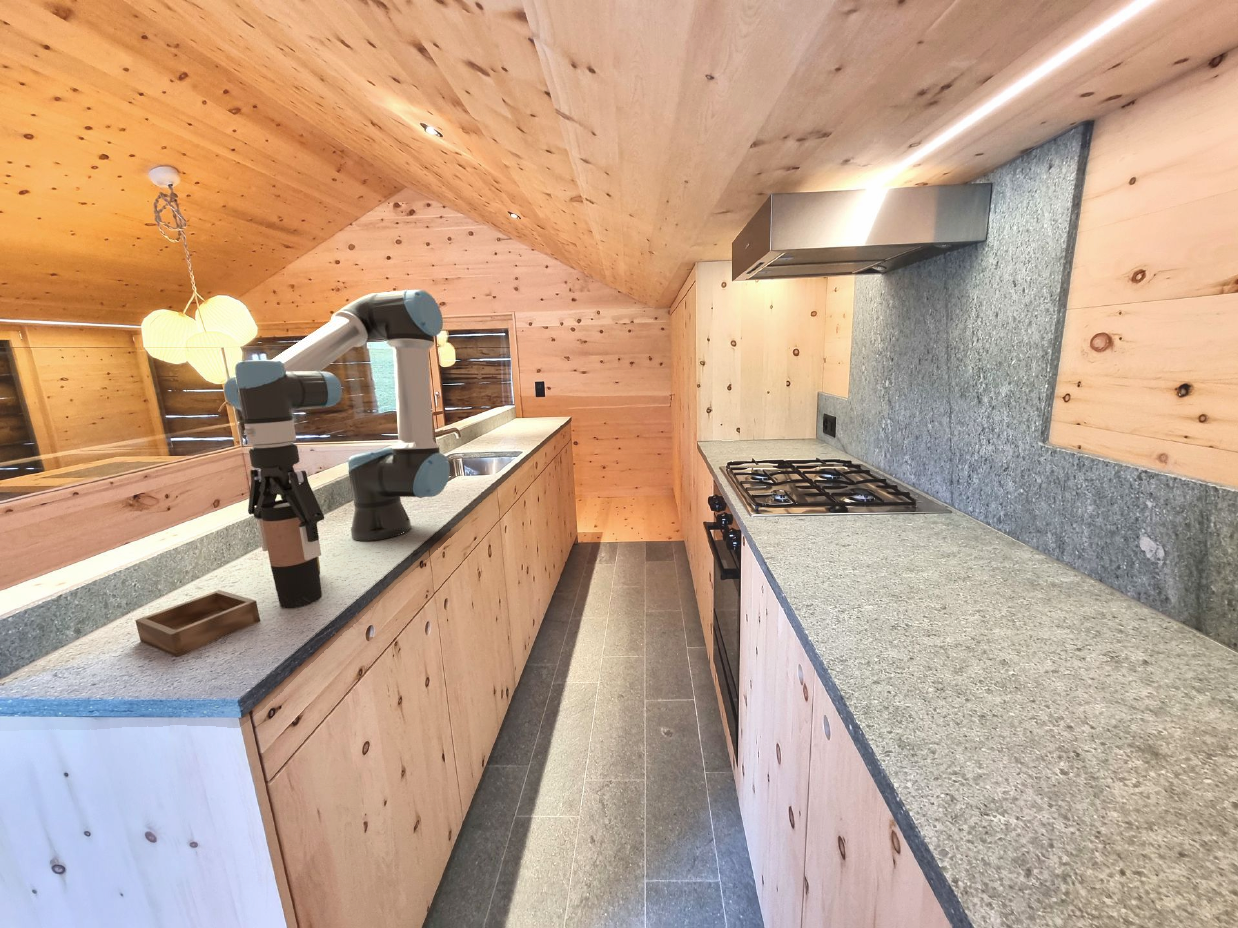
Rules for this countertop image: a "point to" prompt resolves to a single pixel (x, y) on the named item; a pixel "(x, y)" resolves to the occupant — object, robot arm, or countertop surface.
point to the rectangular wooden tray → (197, 622)
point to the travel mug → (289, 557)
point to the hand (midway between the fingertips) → (291, 553)
